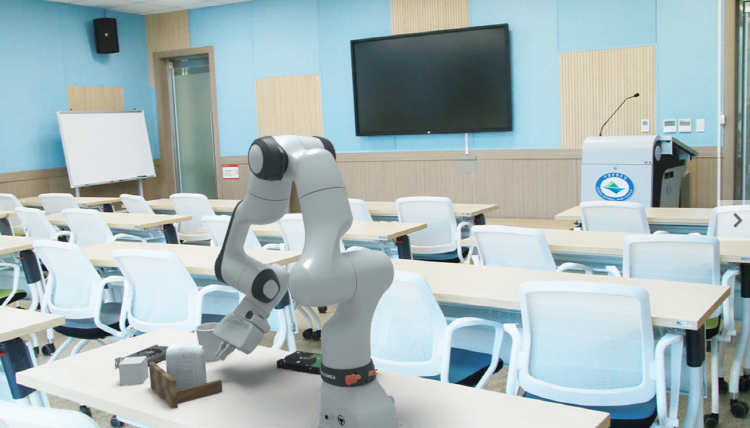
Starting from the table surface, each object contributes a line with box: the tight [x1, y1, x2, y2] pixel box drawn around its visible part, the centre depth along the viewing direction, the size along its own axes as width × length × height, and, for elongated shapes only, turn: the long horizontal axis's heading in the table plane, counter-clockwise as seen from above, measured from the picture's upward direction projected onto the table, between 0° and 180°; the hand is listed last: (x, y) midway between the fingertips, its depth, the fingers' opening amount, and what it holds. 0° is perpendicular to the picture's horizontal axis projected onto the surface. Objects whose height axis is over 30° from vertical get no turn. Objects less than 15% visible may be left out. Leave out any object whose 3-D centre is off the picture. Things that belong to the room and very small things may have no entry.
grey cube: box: [118, 356, 149, 386], centre depth 185 cm, size 6×6×6 cm
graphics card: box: [114, 344, 169, 369], centre depth 201 cm, size 17×4×12 cm
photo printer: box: [165, 342, 208, 390], centre depth 177 cm, size 10×4×12 cm, turn 92°
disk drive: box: [276, 350, 322, 376], centre depth 192 cm, size 10×3×15 cm
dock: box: [148, 362, 223, 409], centre depth 175 cm, size 18×14×7 cm
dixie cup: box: [195, 322, 222, 362], centre depth 202 cm, size 8×8×10 cm
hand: (218, 358), depth 181 cm, fingers closed
